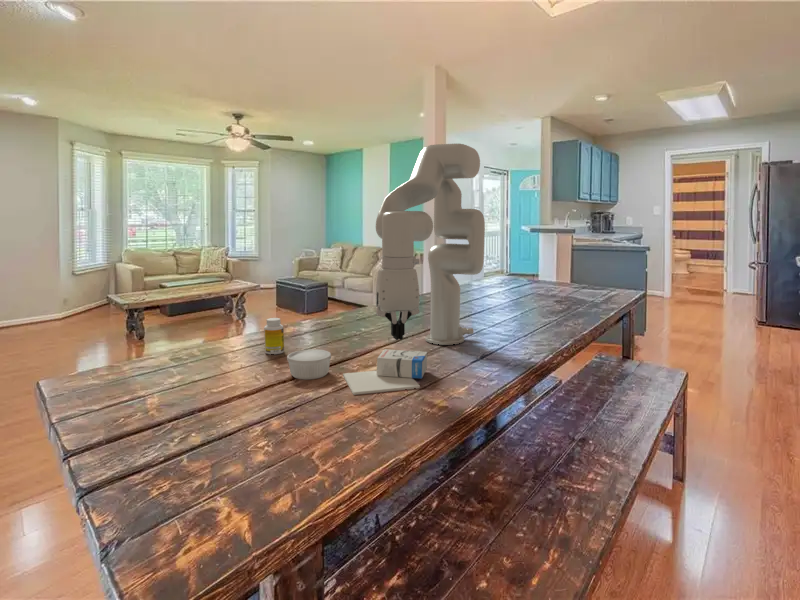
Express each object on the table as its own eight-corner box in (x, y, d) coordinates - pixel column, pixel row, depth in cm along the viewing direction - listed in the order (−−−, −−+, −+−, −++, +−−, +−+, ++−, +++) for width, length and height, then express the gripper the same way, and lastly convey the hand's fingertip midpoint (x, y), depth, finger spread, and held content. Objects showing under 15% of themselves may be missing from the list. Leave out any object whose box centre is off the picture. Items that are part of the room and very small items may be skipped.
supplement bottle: (285, 354, 143) (284, 320, 142) (266, 355, 142) (264, 321, 140) (283, 349, 149) (281, 316, 147) (264, 351, 147) (262, 317, 145)
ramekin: (293, 367, 131) (292, 348, 130) (334, 367, 131) (334, 348, 130) (282, 381, 120) (281, 360, 119) (327, 381, 120) (326, 361, 119)
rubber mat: (403, 370, 128) (403, 368, 128) (419, 388, 115) (419, 385, 115) (343, 375, 124) (343, 373, 124) (353, 394, 111) (353, 392, 111)
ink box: (422, 360, 119) (376, 357, 121) (422, 379, 119) (375, 376, 122) (427, 351, 127) (383, 348, 129) (427, 369, 128) (383, 365, 130)
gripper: (422, 261, 121) (421, 333, 125) (363, 263, 117) (364, 337, 120) (432, 264, 114) (431, 340, 117) (370, 266, 110) (371, 344, 113)
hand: (397, 338), depth 119 cm, fingers closed
